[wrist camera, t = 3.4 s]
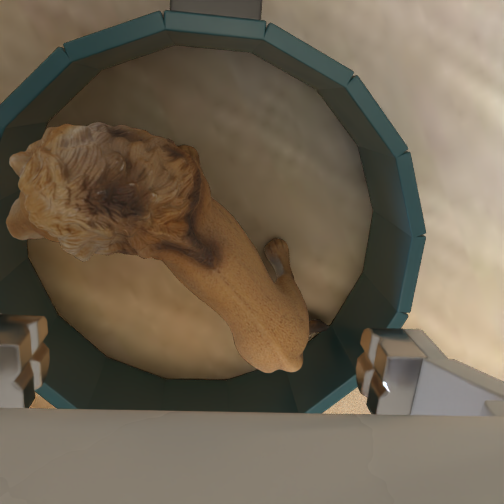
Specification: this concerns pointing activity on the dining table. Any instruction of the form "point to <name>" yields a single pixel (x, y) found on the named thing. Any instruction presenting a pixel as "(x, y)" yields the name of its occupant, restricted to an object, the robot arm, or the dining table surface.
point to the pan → (356, 305)
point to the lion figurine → (160, 229)
